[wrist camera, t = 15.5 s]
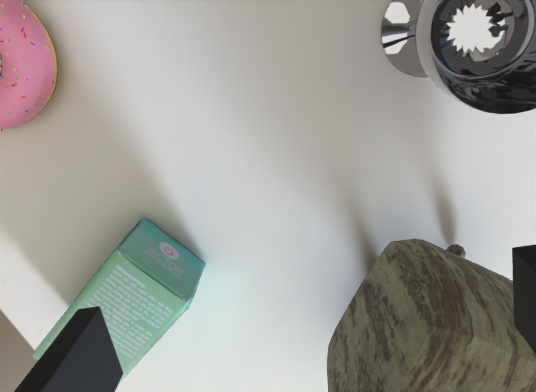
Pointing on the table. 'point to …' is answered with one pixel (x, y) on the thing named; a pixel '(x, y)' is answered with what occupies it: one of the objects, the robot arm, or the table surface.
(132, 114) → the table surface
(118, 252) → the box
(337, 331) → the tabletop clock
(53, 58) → the doughnut
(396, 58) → the wine glass
